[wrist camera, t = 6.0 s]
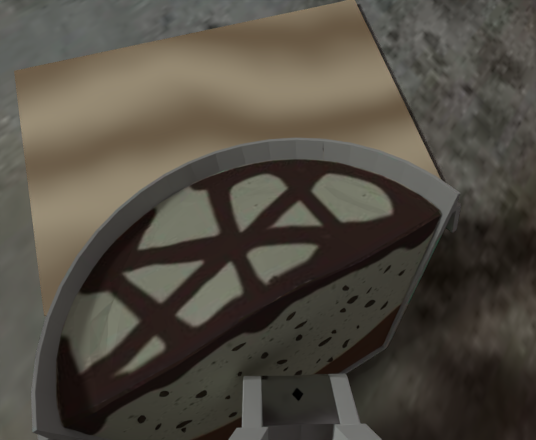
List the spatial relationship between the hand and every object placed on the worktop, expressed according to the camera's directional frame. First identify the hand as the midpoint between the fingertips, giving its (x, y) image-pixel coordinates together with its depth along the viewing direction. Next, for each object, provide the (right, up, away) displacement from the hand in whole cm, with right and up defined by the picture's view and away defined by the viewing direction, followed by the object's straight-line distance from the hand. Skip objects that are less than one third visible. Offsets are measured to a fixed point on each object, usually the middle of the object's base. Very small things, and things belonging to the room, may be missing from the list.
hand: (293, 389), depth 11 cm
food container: (-1, -1, +7) cm, 8 cm away
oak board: (-3, +10, +12) cm, 16 cm away
